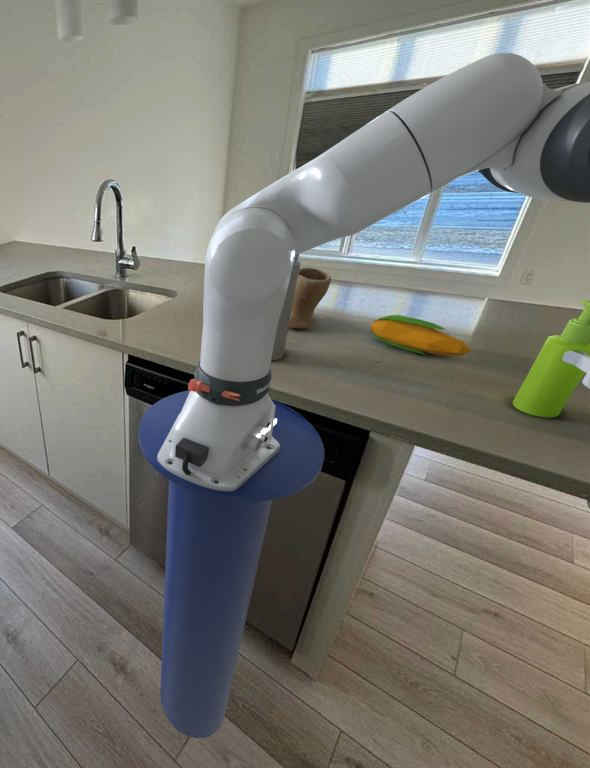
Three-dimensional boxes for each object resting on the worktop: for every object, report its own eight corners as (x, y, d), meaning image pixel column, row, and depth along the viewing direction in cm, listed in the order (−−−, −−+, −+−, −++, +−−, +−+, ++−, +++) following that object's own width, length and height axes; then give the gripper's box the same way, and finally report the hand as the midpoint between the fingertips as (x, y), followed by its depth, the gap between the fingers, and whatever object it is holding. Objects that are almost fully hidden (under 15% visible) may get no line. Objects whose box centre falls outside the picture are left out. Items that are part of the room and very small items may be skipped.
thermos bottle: (241, 351, 102) (256, 235, 88) (265, 343, 104) (284, 230, 90) (265, 363, 95) (285, 240, 81) (290, 355, 97) (315, 234, 84)
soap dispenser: (527, 418, 70) (590, 310, 60) (505, 398, 76) (559, 295, 66) (571, 422, 69) (644, 311, 59) (545, 401, 74) (607, 296, 64)
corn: (386, 304, 100) (488, 328, 85) (378, 332, 104) (474, 359, 89) (367, 313, 98) (469, 339, 82) (360, 341, 102) (456, 371, 86)
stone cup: (318, 334, 106) (331, 278, 99) (269, 328, 112) (278, 275, 104) (322, 315, 117) (334, 263, 110) (278, 310, 123) (286, 261, 115)
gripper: (792, 351, 54) (641, 318, 65) (696, 384, 50) (553, 343, 61) (757, 391, 57) (618, 353, 69) (664, 426, 53) (533, 379, 64)
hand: (586, 348), depth 65 cm, fingers open, 8 cm apart
